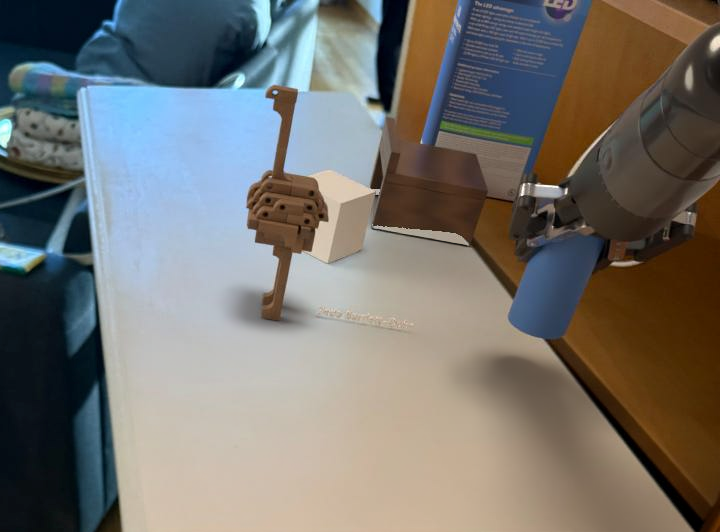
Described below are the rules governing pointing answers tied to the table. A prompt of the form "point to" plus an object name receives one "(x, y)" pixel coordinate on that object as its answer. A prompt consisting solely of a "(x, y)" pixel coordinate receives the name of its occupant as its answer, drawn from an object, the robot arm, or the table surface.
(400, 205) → the dark brown wooden box
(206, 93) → the table surface
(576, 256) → the blue cylinder
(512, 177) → the string lights box
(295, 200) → the brown mechanical linkage
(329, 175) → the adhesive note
